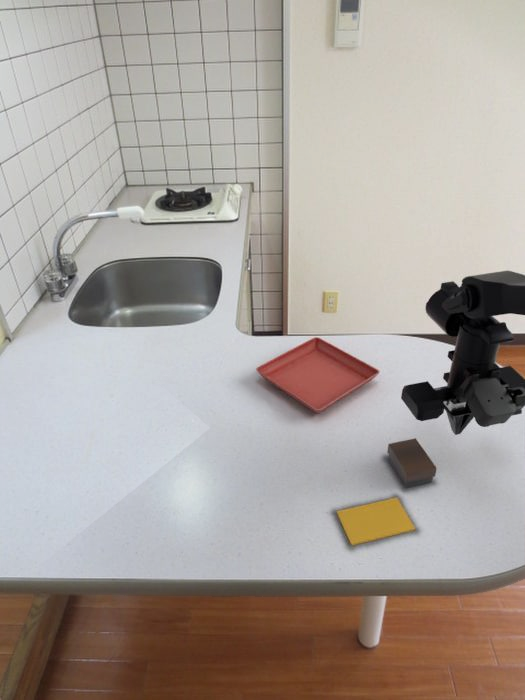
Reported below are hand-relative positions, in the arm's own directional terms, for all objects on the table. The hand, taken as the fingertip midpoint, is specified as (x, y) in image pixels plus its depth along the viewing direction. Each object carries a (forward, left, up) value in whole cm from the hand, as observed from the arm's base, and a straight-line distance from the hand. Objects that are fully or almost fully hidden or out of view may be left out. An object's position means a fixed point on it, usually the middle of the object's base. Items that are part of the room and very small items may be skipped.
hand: (455, 432), depth 85 cm
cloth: (+4, +18, -6) cm, 20 cm away
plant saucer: (+30, -5, -7) cm, 31 cm away
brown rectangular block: (+4, +6, -6) cm, 10 cm away
